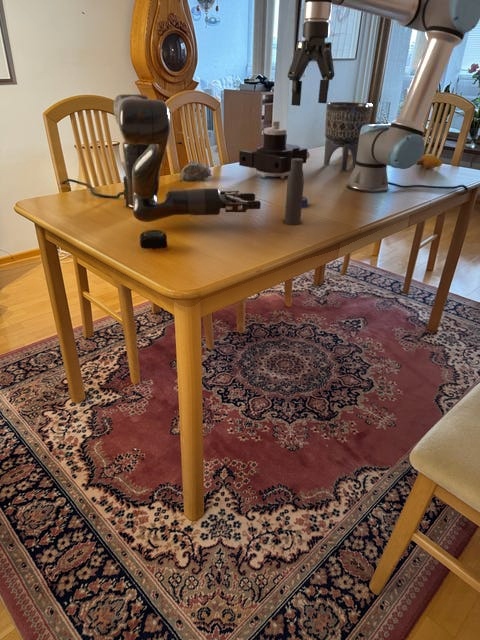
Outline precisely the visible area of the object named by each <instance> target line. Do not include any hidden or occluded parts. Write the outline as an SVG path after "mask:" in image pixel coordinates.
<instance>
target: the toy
mask: <svg viewBox="0 0 480 640" xmlns="http://www.w3.org/2000/svg"><path fill="white" fill-rule="evenodd" d="M415 165H416V166H421V167H425V168H426V169H428V170H430V169H435V168H438V167H441V166H442V165H443V161H442V160H440V159H438V157H437V156H436V155H434V154H430V153H428V154H425V155H424V154H423V155H422V157H421V158H420V160H419V161H418V162H417V163H416V164H415Z"/></svg>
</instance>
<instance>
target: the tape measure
mask: <svg viewBox="0 0 480 640" xmlns="http://www.w3.org/2000/svg"><path fill="white" fill-rule="evenodd" d="M167 236H168V235H167V234H166V232H165V231H164V230H161V229H147V230H144V231H143V232H141V233H140V235H139V240H140V241H139V245H140V246H139V247H141V248H142V249H146V250H157V249H167V248H168V240H167V239H168V237H167Z"/></svg>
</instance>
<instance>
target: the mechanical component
mask: <svg viewBox="0 0 480 640" xmlns="http://www.w3.org/2000/svg"><path fill="white" fill-rule="evenodd" d="M287 138H288V129H287V128H286V127H280V121H279V120H272V126H271V127H265V128H264V129H263V145H262V146H258V147H257V148H256V151H250V150H245V149H241V150H239V153H238V154H239V155H238V157H239V159H238V166H240V167H245V168H250V169H255V173H256V174H257V175H261V177H262V178H267V177H279V178H280V179H285V176H289V172H290V170H291V160H292V159H293V158H300V159H303V165H305V164H307V160H309V158H310V156H311V154H310V152H309V151H308V148H304V147H301V146H299V145H297V144H290V143H287Z"/></svg>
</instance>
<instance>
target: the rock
mask: <svg viewBox="0 0 480 640" xmlns="http://www.w3.org/2000/svg"><path fill="white" fill-rule="evenodd" d="M212 176H213V175H212V170H211V169H210V168H209V167H208V166H207V165H204V164H202V163H198V162H196V161H194V160H190V161H189V162H188V163H187V164H186V165H184V166H183V167H182V168H181V171H180V173H179V180H180V181H185V182H198V181H199V182H201V181H204V180H205V179H208V178H209V177H210V178H211V177H212Z"/></svg>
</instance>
